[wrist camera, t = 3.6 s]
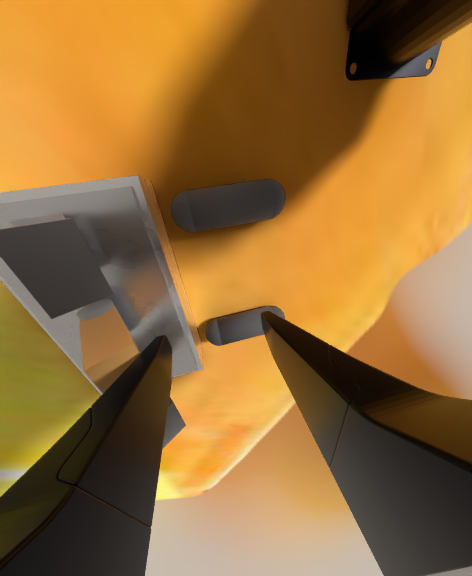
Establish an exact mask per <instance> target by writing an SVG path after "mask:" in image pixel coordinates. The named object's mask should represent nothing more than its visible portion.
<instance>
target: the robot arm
mask: <svg viewBox="0 0 472 576" xmlns="http://www.w3.org/2000/svg"><path fill="white" fill-rule="evenodd" d="M470 23H472V0H349V6H348V15H347V28H348V30H350V37H349V45H348V54H347V62H346V77H347V78H348V80H351V81H355V80H370V79H385V78H399V77H414V76H426V75H428V74H430V73H431V72H432V70H433V69H434V66H435V64H436V61H437V57H438V53H439V50H440V46H441V43H442V41H443V40H445V39H446V38H448V37H449V36H451V35H453V34H454V33H456V32H457V31H459V30H461V29H462V28H464V27H465V26H467V25H468V24H470ZM428 59H432V65H431V67H430V68H429V69H428V70H427V69H426V63H427V61H428ZM353 62H354V63H356V65H357V70H356V72H355V74H351V73H350V66H351V64H352V63H353ZM261 323H262V328H263V331H264V334H265V337H266V340H267V342H268V345H269V348H270V350H271V353H272V356H273V358H274V360H275V362H276V364H277V366H278V368H279V370H280V372H281V374H282V376H283V378H284V380H285V382H286V384H287V386H288V388H289V389H290V391H291V393H292V395H293V397H294V399H295V401H296V403H297V405H298V407H299V409H300V411H301V413H302V415H303V417H304V419H305V421H306V423H307V425H308V427H309V429H310V431H311V433H312V435H313V437H314V439H315V441H316V443H317V444H318V447H319V449H320V450H321V453H322V455H323V457H324V458H325V460H326V462H327V464H328V466H329V468H330V470H331V472H332V474H333V476H334V478H335V480H336V482H337V484H338V486H339V488H340V490H341V492H342V494H343V496H344V498H345V500H346V502H347V504H348V506H349V508H350V510H351V512H352V514H353V516H354V518H355V520H356V522H357V524H358V526H359V528H360V530H361V532H362V534H363V535H364V537H365V539H366V541H367V543H368V545H369V547H370V549H371V551H372V553H373V555H374V557H375V559H376V561H377V563H378V565H379V567H380V569H381V571H382V573H383V575H384V576H472V400H466V399H460V398H453V397H448V396H443V395H438V394H435V393H431V392H428V391H425V390H423V389H420V388H417V387H415V386H413V385H411V384H409V383H406V382H404V381H402V380H400V379H398V378H396V377H394V376H392V375H389V374H387V373H385V372H383V371H381V370H379V369H377V368H374V367H372V366H370V365H368V364H366V363H364V362H362V361H360V360H358V359H356V358H354V357H351V356H350V355H348V354H346V353H344V352H342V351H341V350H339V349H337V348H335V347H333V346H332V345H329V344H328V343H326V342H324V341H322V340H321V339H319V338H317V337H315V336H314V335H312V334H310V333H308V332H306V331H305V330H303V329H301V328H299V327H298V326H296V325H294V324H292V323H290V322H289V321H287V320H285V319H283V318H282V317H280V316H278V315H276V314H274V313H273V312H271V311H269V310H268V311H263V312H261ZM171 382H172V347H171V344H170V342H169V340H168V338H167V336H166V335H160V336H157V337H156V338H155V339H154V340H153V341H152V342H151V343H150V344H149V345H148V346H147V347H146V348H145V349H144V350H143V351H142V352H141V354H140V355H139V356H138V357H137V358H136V359H135V360H134V361H133V362H132V363H131V364H130V365H129V366H128V367H127V368H126V370H125V371H124V372H123V373H122V374H121V375H120V376H119V377H118V378H117V379H116V380H115V381H114V382H113V383H112V385H111V386H110V387H109V388H108V389H107V390H106V391H105V392H104V393H103V394H102V395H101V396H100V397H99V398H98V400H97V401H96V402H95V403H94V404H93V405H92V408H89V409H88V410H87V411H86V412H85V413H84V414H83V415H82V417H81V418H80V419H79V420H78V421H77V422H76V423H75V424H74V425H73V426H72V427H71V428H70V429H69V430H68V431H67V432H66V433H65V434H64V435H63V436H62V437H61V438H60V439H59V440H58V441H57V442H56V443H55V444H54V445H53V446H52V447H51V448H50V449H49V450H48V451H47V452H46V453H45V454H44V455H43V456H42V457H41V458H40V459H39V460H38V461H37V462H36V463H35V464H34V465H33V466H32V467H31V468H30V469H29V470H28V471H27V472H26V473H25V474H24V475H23V476H22V477H20V478H19V479H18V480H17V481H16V482H15V483H14V484H13V485H12V486H11V487H10V488H9V489H8V490H7V491H6V492H5V493H4V494H3V495H2V496H1V497H0V576H145V570H146V562H147V556H148V549H149V541H150V534H151V528H150V527H151V525H152V518H153V512H154V505H155V497H156V490H157V483H158V476H159V469H160V462H161V454H162V447H163V440H164V433H165V426H166V419H167V412H168V404H169V397H170V390H171Z"/></svg>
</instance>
